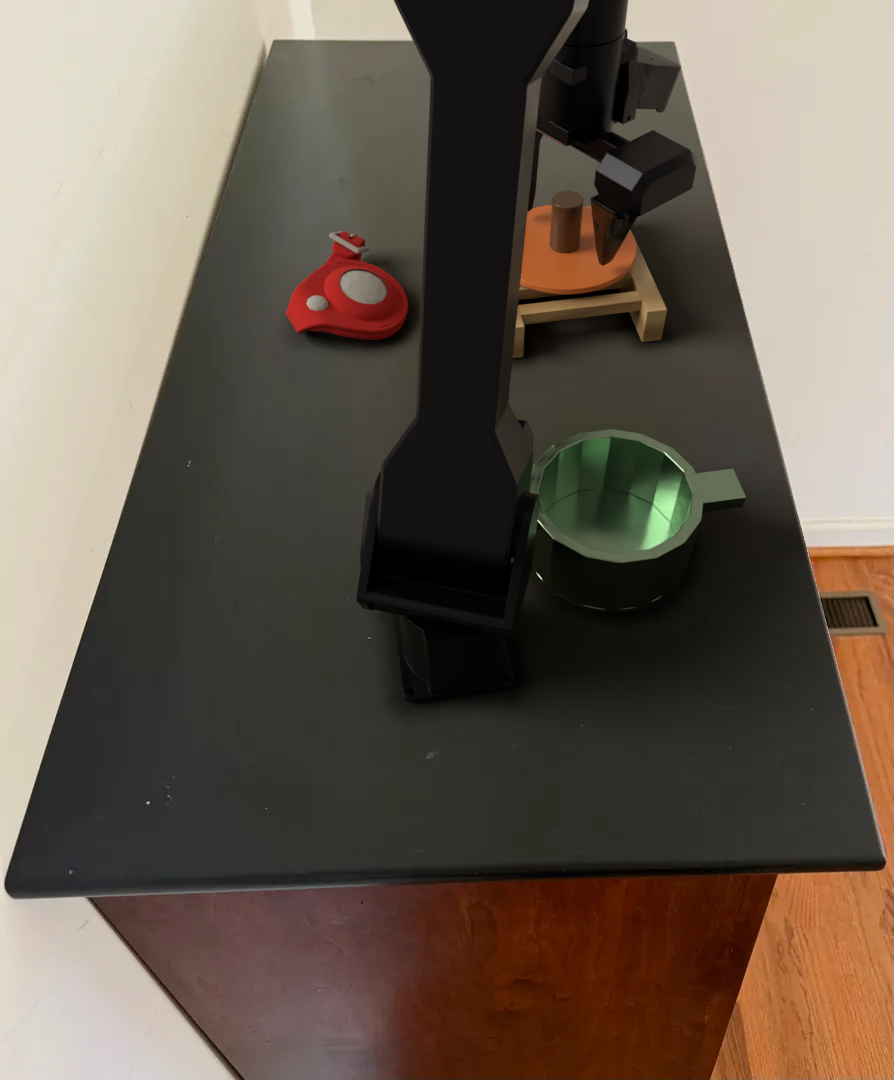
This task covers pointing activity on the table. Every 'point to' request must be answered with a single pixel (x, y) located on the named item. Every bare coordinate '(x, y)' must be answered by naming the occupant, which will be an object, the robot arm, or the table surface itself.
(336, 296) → the tracker holder
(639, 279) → the rack
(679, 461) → the pot
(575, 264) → the lid
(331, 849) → the table surface
